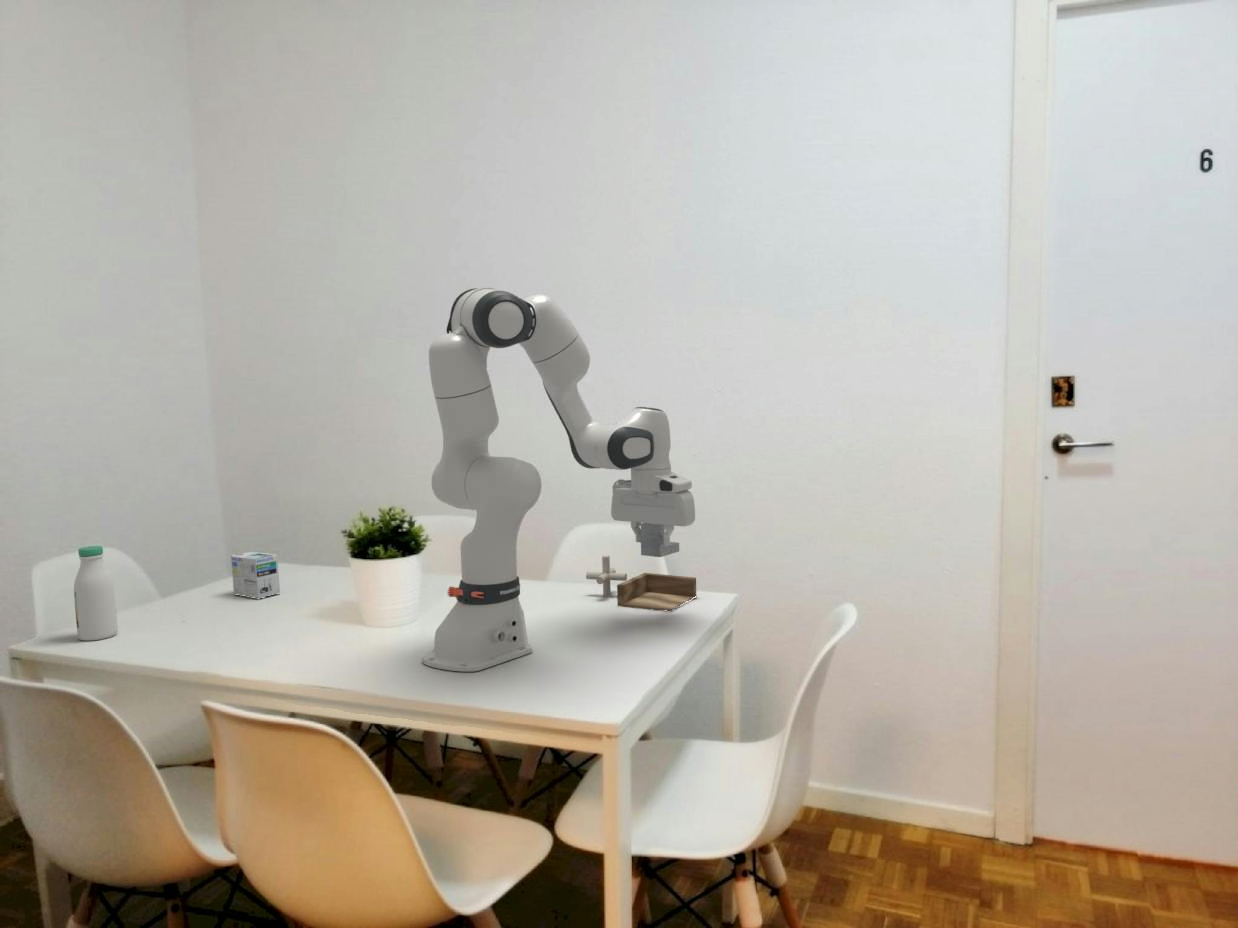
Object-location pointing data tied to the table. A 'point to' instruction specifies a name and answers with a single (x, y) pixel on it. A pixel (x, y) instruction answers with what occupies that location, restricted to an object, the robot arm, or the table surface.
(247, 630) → the table surface
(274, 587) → the light bulb box
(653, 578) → the wooden corner tray
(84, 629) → the milk bottle
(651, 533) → the bracket
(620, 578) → the pipe connector
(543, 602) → the table surface
